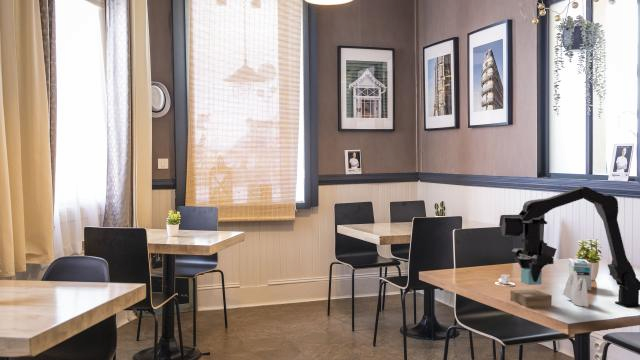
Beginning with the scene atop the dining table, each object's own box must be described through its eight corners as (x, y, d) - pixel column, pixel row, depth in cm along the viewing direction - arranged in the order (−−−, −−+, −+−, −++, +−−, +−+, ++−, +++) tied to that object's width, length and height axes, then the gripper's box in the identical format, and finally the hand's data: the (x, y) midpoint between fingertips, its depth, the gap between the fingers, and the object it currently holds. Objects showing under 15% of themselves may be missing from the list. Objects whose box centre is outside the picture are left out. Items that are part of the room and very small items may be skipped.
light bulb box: (591, 290, 240) (592, 263, 240) (573, 289, 241) (573, 262, 241) (585, 285, 251) (586, 258, 250) (567, 284, 252) (568, 258, 251)
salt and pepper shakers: (561, 298, 226) (562, 268, 226) (572, 298, 227) (573, 268, 226) (577, 306, 214) (578, 275, 214) (589, 306, 215) (590, 275, 214)
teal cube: (541, 284, 217) (541, 270, 217) (528, 284, 216) (528, 270, 216) (533, 281, 222) (534, 267, 222) (521, 281, 221) (521, 268, 221)
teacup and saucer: (498, 281, 257) (498, 272, 257) (517, 284, 253) (518, 274, 253) (492, 285, 250) (492, 275, 250) (512, 287, 246) (512, 277, 246)
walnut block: (551, 306, 216) (551, 295, 215) (525, 308, 213) (526, 296, 213) (535, 300, 225) (535, 289, 225) (510, 301, 223) (510, 290, 223)
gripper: (568, 239, 211) (567, 285, 211) (539, 232, 229) (538, 274, 230) (538, 240, 209) (537, 286, 209) (511, 233, 227) (510, 275, 228)
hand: (531, 280), depth 219 cm, fingers closed on teal cube, 5 cm apart
